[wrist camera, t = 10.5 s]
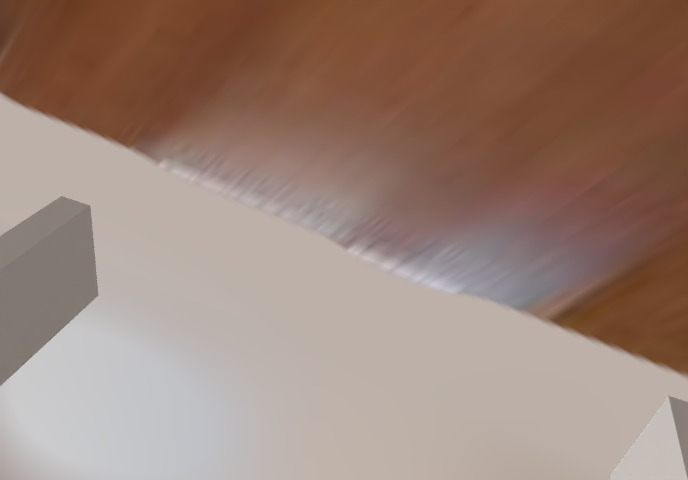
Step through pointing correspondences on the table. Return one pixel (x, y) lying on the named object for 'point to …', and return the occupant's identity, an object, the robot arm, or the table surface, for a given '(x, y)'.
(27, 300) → the robot arm
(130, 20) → the table surface
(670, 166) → the table surface
